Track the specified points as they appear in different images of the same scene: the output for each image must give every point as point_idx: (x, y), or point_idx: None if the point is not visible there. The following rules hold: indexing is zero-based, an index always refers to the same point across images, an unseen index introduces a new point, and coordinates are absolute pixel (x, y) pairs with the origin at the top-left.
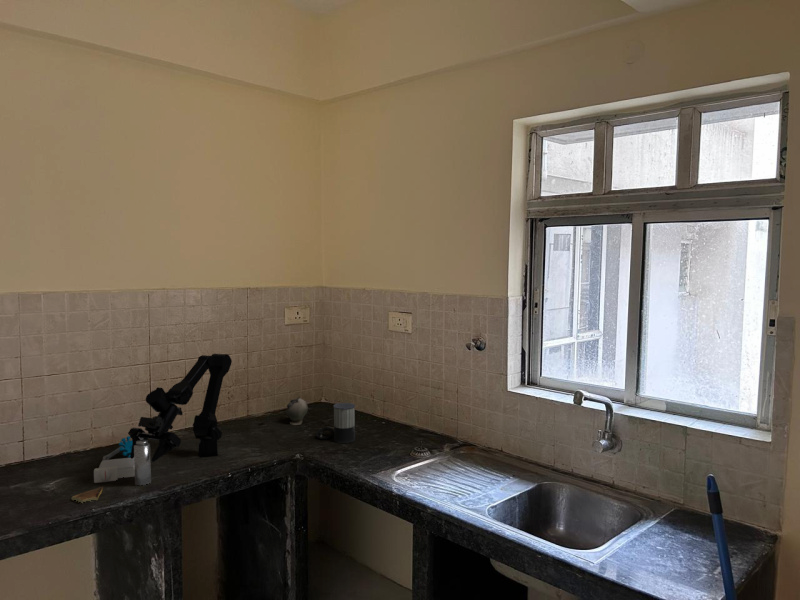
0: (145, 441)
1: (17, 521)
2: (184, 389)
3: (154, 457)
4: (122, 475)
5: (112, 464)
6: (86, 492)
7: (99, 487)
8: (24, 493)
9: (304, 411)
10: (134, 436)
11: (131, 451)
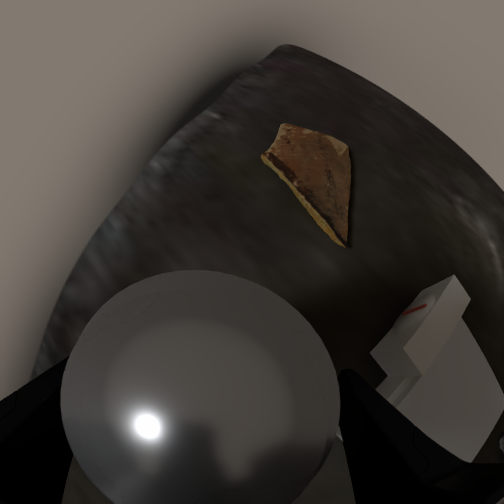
0: (83, 415)
1: (325, 65)
2: None
3: (63, 363)
4: (379, 391)
5: (463, 399)
6: (337, 173)
7: (345, 230)
8: (468, 174)
9: None
10: (492, 488)
11: (381, 400)
